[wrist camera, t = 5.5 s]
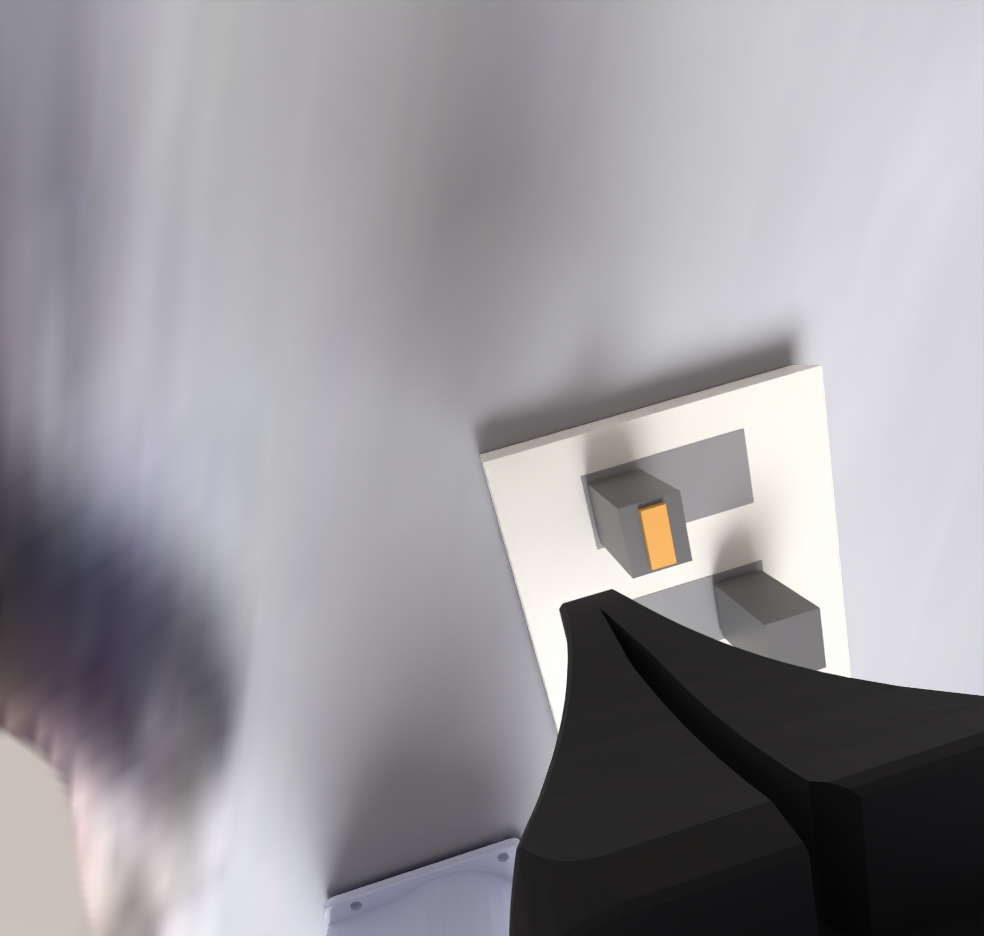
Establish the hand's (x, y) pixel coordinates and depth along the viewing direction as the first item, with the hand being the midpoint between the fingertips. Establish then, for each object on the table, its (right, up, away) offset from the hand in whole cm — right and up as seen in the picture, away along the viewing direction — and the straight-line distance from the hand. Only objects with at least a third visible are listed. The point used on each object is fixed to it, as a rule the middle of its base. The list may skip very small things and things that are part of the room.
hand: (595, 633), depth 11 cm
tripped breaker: (+2, +2, +7) cm, 7 cm away
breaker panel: (+6, -2, +10) cm, 11 cm away
